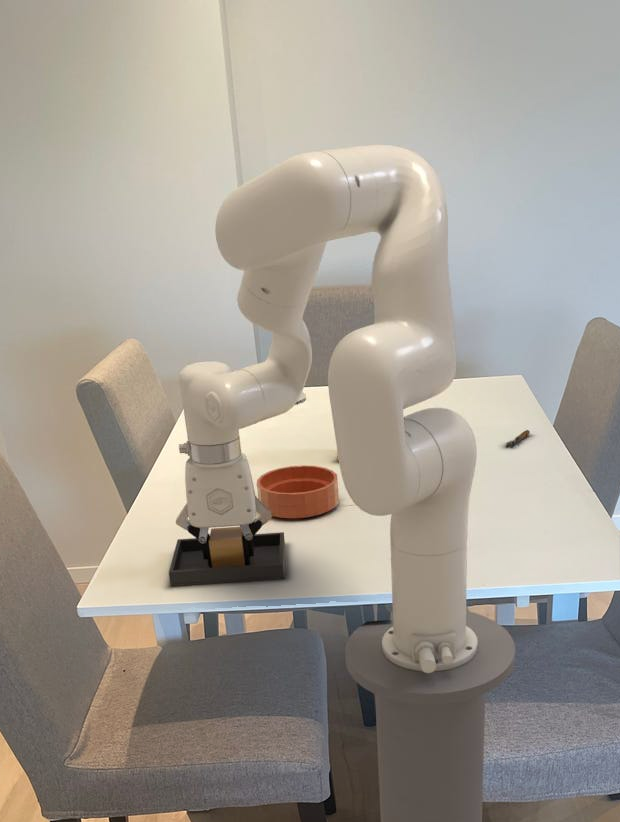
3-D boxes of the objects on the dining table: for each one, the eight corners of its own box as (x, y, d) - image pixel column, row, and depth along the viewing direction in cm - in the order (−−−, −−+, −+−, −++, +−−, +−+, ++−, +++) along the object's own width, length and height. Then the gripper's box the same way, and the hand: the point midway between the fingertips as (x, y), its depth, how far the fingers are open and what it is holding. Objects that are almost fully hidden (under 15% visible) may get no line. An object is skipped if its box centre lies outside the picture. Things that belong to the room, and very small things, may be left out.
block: (245, 568, 143) (241, 539, 141) (212, 571, 143) (208, 541, 141) (246, 555, 148) (243, 526, 145) (215, 557, 148) (211, 528, 145)
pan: (284, 578, 141) (282, 564, 139) (171, 586, 140) (168, 572, 139) (285, 545, 151) (283, 532, 150) (179, 552, 151) (177, 539, 150)
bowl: (340, 518, 160) (338, 491, 157) (258, 523, 160) (255, 496, 157) (337, 488, 172) (335, 463, 170) (261, 493, 172) (258, 468, 169)
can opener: (525, 434, 193) (525, 429, 193) (535, 436, 192) (535, 430, 191) (502, 446, 188) (502, 441, 187) (512, 448, 186) (512, 443, 186)
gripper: (153, 462, 133) (172, 575, 142) (272, 454, 133) (283, 568, 142) (160, 445, 139) (178, 555, 149) (273, 438, 140) (284, 548, 149)
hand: (229, 560), depth 145 cm, fingers closed on block, 5 cm apart
